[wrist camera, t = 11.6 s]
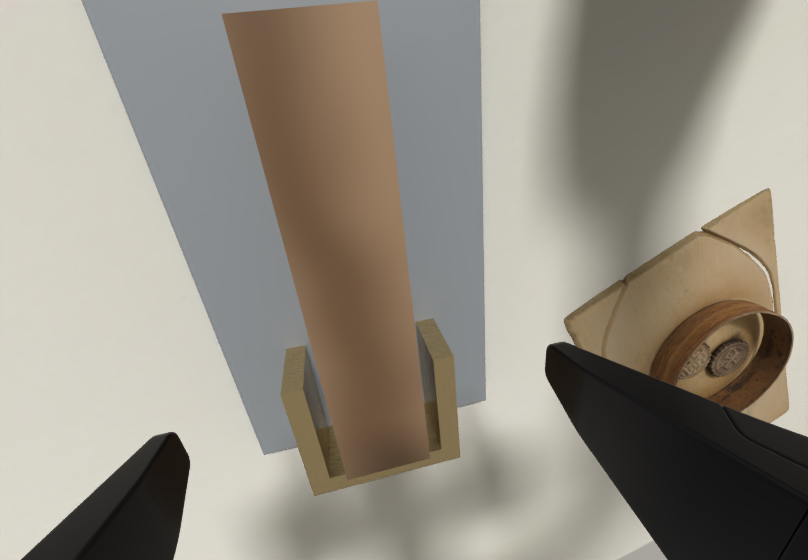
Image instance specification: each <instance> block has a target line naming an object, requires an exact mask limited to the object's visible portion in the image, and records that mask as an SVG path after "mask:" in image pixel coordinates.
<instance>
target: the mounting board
mask: <svg viewBox="0 0 808 560" xmlns="http://www.w3.org/2000/svg"><path fill="white" fill-rule="evenodd" d="M81 1H82V3H83V6H84V8H85V10H86V13H87V15H88V18H89V20H90V23H91V25H92V28H93V30H94V33H95V35H96V38H97V40H98V43H99V45H100V48H101V50H102V53H103V55H104V58H105V60H106V63H107V65H108V68H109V70H110V73H111V75H112V78H113V80H114V83H115V85H116V88H117V90H118V93H119V95H120V98H121V100H122V103H123V105H124V108H125V110H126V113H127V115H128V118H129V120H130V122H131V125H132V127H133V130H134V132H135V135H136V137H137V140H138V142H139V145H140V147H141V150H142V152H143V155H144V157H145V160H146V162H147V165H148V167H149V170H150V172H151V175H152V177H153V180H154V182H155V185H156V187H157V190H158V192H159V195H160V197H161V200H162V202H163V205H164V207H165V210H166V212H167V215H168V217H169V220H170V222H171V225H172V227H173V230H174V232H175V234H176V237H177V239H178V242H179V244H180V247H181V249H182V252H183V254H184V257H185V259H186V262H187V264H188V267H189V269H190V272H191V274H192V277H193V279H194V282H195V284H196V287H197V289H198V292H199V294H200V297H201V299H202V302H203V304H204V307H205V309H206V312H207V314H208V317H209V319H210V322H211V324H212V327H213V329H214V332H215V334H216V337H217V339H218V341H219V344H220V346H221V349H222V351H223V354H224V356H225V359H226V361H227V364H228V366H229V369H230V371H231V374H232V376H233V379H234V381H235V384H236V386H237V389H238V391H239V394H240V396H241V399H242V401H243V404H244V406H245V409H246V411H247V414H248V416H249V419H250V421H251V424H252V426H253V429H254V431H255V434H256V436H257V439H258V441H259V444H260V446H261V449H262V451H263V453H264V455H265V454H269V453H273V452H277V451H282V450H286V449H290V448H294V447H298V446H297V443H296V440H295V437H294V434H293V431H292V428H291V425H290V422H289V419H288V416H287V413H286V410H285V408H284V405H283V402H282V399H281V396H280V393H281V385H282V378H283V370H284V362H285V354H286V349H288V348H293V347H298V346H303V345H306V349H307V352H308V356H309V360H310V363H311V367H312V370H313V374H314V378H315V381H316V385H317V389H318V392H319V396H320V399H321V403H322V407H323V410H324V414H325V417H326V421H327V425H328V426H332V422H331V418H330V414H329V410H328V407H327V403H326V399H325V396H324V392H323V388H322V384H321V381H320V377H319V373H318V370H317V366H316V362H315V359H314V355H313V351H312V347H311V344H310V340H309V336H308V333H307V329H306V325H305V322H304V318H303V314H302V310H301V307H300V303H299V299H298V296H297V292H296V288H295V285H294V281H293V277H292V273H291V270H290V266H289V262H288V259H287V255H286V251H285V248H284V244H283V240H282V236H281V233H280V229H279V225H278V222H277V218H276V214H275V210H274V207H273V203H272V199H271V196H270V192H269V188H268V185H267V181H266V177H265V173H264V170H263V166H262V162H261V159H260V155H259V151H258V148H257V144H256V140H255V136H254V133H253V129H252V125H251V122H250V118H249V114H248V111H247V107H246V103H245V99H244V96H243V92H242V88H241V85H240V81H239V77H238V73H237V70H236V66H235V62H234V59H233V55H232V51H231V48H230V44H229V40H228V36H227V33H226V29H225V25H224V22H223V18H222V14H225V13H236V12H248V11H260V10H271V9H283V8H295V7H307V6H318V5H330V4H342V3H354V2H365V1H377V0H81ZM378 9H379V18H380V26H381V35H382V44H383V52H384V61H385V70H386V79H387V87H388V96H389V105H390V113H391V122H392V131H393V140H394V148H395V157H396V166H397V174H398V183H399V192H400V201H401V209H402V218H403V227H404V235H405V244H406V253H407V262H408V270H409V279H410V288H411V296H412V305H413V314H414V323H415V331H416V340H417V349H418V357H419V366H420V375H421V384H422V392H423V401H424V403H425V400H424V391H423V383H422V374H421V365H420V356H419V347H418V338H417V329H416V322H417V321H422V320H427V319H431V318H433V319H434V320H435V322H436V324H437V326H438V328H439V330H440V331H441V333H442V335H443V337H444V339H445V341H446V342H447V344H448V346H449V348H450V350H451V352H452V353H453V355H454V367H455V383H456V400H457V407H460V406H464V405H468V404H472V403H476V402H480V401H484V400H486V386H485V318H484V249H483V180H482V112H481V43H480V0H378Z"/></svg>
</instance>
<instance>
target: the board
mask: <svg viewBox="0 0 808 560" xmlns="http://www.w3.org/2000/svg"><path fill="white" fill-rule="evenodd" d="M701 229H702V230H703V231H704V232H703V231H701V232H697V231H695V232H693V233H691V234H690V235H688V236H686V237H685V238H684V239H682V240H680V241H679V242H677V243H676V244H674V245H673V246H671V247H670V248H668V249H666V250H665V251H663V252H662V253H660V254H659V255H657V256H656V257H654V258H653V259H651V260H650V261H648V262H647V263H645V264H644V265H642V266H641V267H639V268H638V269H636V270H635V271H633V272H632V273H630V274H629V275H627V276H626V277H625V278H624V280H623V281H621V280H619V281H618V282H616V283H615V284H613V285H612V286H610V287H609V288H607V289H606V290H604V291H603V292H601V293H600V294H598V295H597V296H595V297H594V298H592V299H591V300H589V301H588V302H587V303H585V304H584V305H582V306H581V307H579V308H578V309H576V310H575V311H574V312H572V313H571V314H570V315H568V316H567V317H566V318H565V319H564V323H565V326H566V329H567V331H568V333H569V334H570V336H571V337H572V339H573V342H574V344H575V346H576V347H579V348H581V349H584V350H586V351H589V352H591V353H594V354H596V355H599V356H601V357H604V358H606V359H609V360H611V361H614V362H616V363H619V364H621V365H624V366H626V367H629V368H631V369H634V370H636V371H639V372H641V373H644V374H646V375H649V376H651V377H654V378H656V379H659V380H662V381H664V382H667V383H669V384H672V385H674V386H677V387H679V388H682V389H684V390H687V391H689V392H692V393H694V394H697V395H699V396H702V397H704V398H707V399H709V400H712V401H714V402H717V403H719V404H721V405H722V406H727V407H729V408H732V409H734V410H737V411H739V412H742V413H744V414H747V415H750V416H752V417H755V418H757V419H760V420H763V421H765V422H768V423H771V422H772V421H774V420H775V419H777V418H778V417H780V416H781V415H783V414H784V413H785V412H787V411H788V409H789V399H788V388H787V379H786V368H785V367H786V365H787V363H788V360H789V358H790V355H791V352H792V347H793V330H792V327H791V325H790V323H789V322H788V321H787V319H785V318H784V317H783V316H781V306H780V293H779V283H778V271H777V259H776V247H775V240H774V224H773V210H772V199H771V191H770V189H769V188H768V189H765V190H763V191H761V192H759V193H757V194H756V195H754V196H752V197H751V198H749V199H747V200H745V201H744V202H742V203H740V204H738V205H737V206H735V207H733V208H732V209H730V210H728V211H727V212H725V213H723V214H722V215H720V216H719V217H717V218H715V219H714V220H712V221H710V222H709V223H707V224H705V225H704V226H702V227H701ZM739 247H741V248H742V249H743V250H746V251H748V252H750V254H751V255H752V256H754V257H755V258H756V259H757V260H759V261H760V263H761V264H762V265H764V266H765V268H766V270H767V271H768V273H769V276H770V280H771V284H772V288H773V299H774V311H775V312H773V300H772V296H771V292H770V287H769V283H768V280H767V277H766V275H765V273H764V271H763V270H762V269H761V268H760V266H759V265H758V264H757V263H756V262H755V261H754V260H752V259H751V257H750V256H749V255H748V254H746V253H744V252H743V251H742V250H741V249H740V248H739Z"/></svg>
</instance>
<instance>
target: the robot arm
mask: <svg viewBox="0 0 808 560" xmlns="http://www.w3.org/2000/svg"><path fill="white" fill-rule="evenodd" d="M545 373H546V377H547V379H548V381H549V383H550V385H551V386H552V388H553V390H554V392H555V394H556V395H557V397H558V399H559V401H560V402H561V404H562V406H563V408H564V410H565V411H566V413H567V415H568V417H569V418H570V420H571V422H572V424H573V425H574V427H575V429H576V430H577V432H578V433H579V435H580V436H581V438H582V439H583V441H584V442H585V444H586V445H587V446H588V448H589V449H590V451H591V452H592V453H593V455H594V456H595V458H596V459H597V461H598V462H599V463H600V465H601V466H602V468H603V469H604V470H605V472H606V473H607V475H608V476H609V477H610V479H611V480H612V482H613V483H614V485H615V486H616V487H617V489H618V490H619V492H620V493H621V494H622V496H623V497H624V499H625V500H626V502H627V503H628V504H629V506H630V507H631V509H632V510H633V511H634V513H635V514H636V516H637V517H638V518H639V520H640V521H641V523H642V524H643V526H644V527H645V528H646V530H647V531H648V533H649V534H650V535H651V537H652V538H653V540H654V541H655V543H656V544H657V545H658V547H659V548H660V549H661V551H662V552H663V554H664V555H665V557H666V558H667V559H668V560H808V437H807V436H804V435H801V434H798V433H795V432H792V431H790V430H787V429H784V428H781V427H778V426H776V425H773V424H770V423H768V422H765V421H763V420H760V419H757V418H755V417H752V416H750V415H747V414H744V413H742V412H739V411H737V410H734V409H732V408H729V407H727V406H722V405H721V404H719V403H717V402H714V401H712V400H709V399H707V398H704V397H702V396H699V395H697V394H694V393H692V392H689V391H687V390H684V389H682V388H679V387H677V386H674V385H672V384H669V383H667V382H664V381H662V380H659V379H656V378H654V377H651V376H649V375H646V374H644V373H641V372H639V371H636V370H634V369H631V368H629V367H626V366H624V365H621V364H619V363H616V362H614V361H611V360H609V359H606V358H604V357H601V356H599V355H596V354H594V353H591V352H589V351H586V350H584V349H581V348H579V347H576V346H574V345H571V344H569V343H566V342H558V343H554V344H550V345H549V346H548V347H547V350H546V363H545ZM189 470H190V459H189V456H188V454H187V452H186V450H185V448H184V446H183V444H182V442H181V441H180V439H179V437H178V435H177V434H176V433H174V432H168V433H164V434H160V435H156V436H154V437H152V438H151V439H150V440H148V441H147V442H146V443H145V444H144V445H143V446H142V447H141V448H140V449H139V450H138V451H137V452H136V453H135V454H133V455H132V456H131V457H130V458H129V459H128V460H127V461H126V462H125V463H124V464H123V465H122V466H121V467H120V468H119V469H117V470H116V471H115V472H114V473H113V474H112V475H111V476H110V477H109V478H108V479H107V480H106V481H105V482H104V483H102V484H101V485H100V486H99V487H98V488H97V489H96V490H95V491H94V492H93V493H92V494H91V495H90V496H89V497H87V498H86V499H85V500H84V501H83V502H82V503H81V504H80V505H79V506H78V507H77V508H76V509H75V510H74V511H72V512H71V513H70V514H69V515H68V516H67V517H66V518H65V519H64V520H63V521H62V522H61V523H60V524H59V525H57V526H56V527H55V528H54V529H53V530H52V531H51V532H50V533H49V534H48V535H47V536H46V537H45V538H44V539H42V540H41V541H40V542H39V543H38V544H37V545H36V546H35V547H34V548H33V549H32V550H31V551H30V552H29V553H27V554H26V555H25V556H24V557H23V558H22V559H21V560H173V559H174V555H175V551H176V547H177V543H178V538H179V533H180V528H181V521H182V515H183V508H184V502H185V495H186V489H187V483H188V476H189Z"/></svg>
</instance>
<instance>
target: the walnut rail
mask: <svg viewBox="0 0 808 560" xmlns="http://www.w3.org/2000/svg"><path fill="white" fill-rule="evenodd" d="M222 18H223V22H224V25H225V29H226V33H227V36H228V40H229V44H230V48H231V51H232V55H233V59H234V62H235V66H236V70H237V73H238V77H239V81H240V85H241V88H242V92H243V96H244V99H245V103H246V107H247V111H248V114H249V118H250V122H251V125H252V129H253V133H254V136H255V140H256V144H257V148H258V151H259V155H260V159H261V162H262V166H263V170H264V173H265V177H266V181H267V185H268V188H269V192H270V196H271V199H272V203H273V207H274V210H275V214H276V218H277V222H278V225H279V229H280V233H281V236H282V240H283V244H284V248H285V251H286V255H287V259H288V262H289V266H290V270H291V273H292V277H293V281H294V285H295V288H296V292H297V296H298V299H299V303H300V307H301V310H302V314H303V318H304V322H305V325H306V329H307V333H308V336H309V340H310V344H311V347H312V351H313V355H314V359H315V362H316V366H317V370H318V373H319V377H320V381H321V384H322V388H323V392H324V396H325V399H326V403H327V407H328V410H329V414H330V418H331V422H332V425H333V429H334V433H335V436H336V440H337V444H338V447H339V451H340V455H341V459H342V462H343V466H344V470H345V473H346V477H347V480H350V479H354V478H358V477H362V476H365V475H369V474H373V473H377V472H381V471H384V470H388V469H392V468H396V467H399V466H403V465H407V464H411V463H415V462H418V461H422V460H426V459H430V453H429V445H428V436H427V427H426V418H425V410H424V401H423V392H422V384H421V375H420V366H419V357H418V349H417V340H416V331H415V323H414V314H413V305H412V296H411V288H410V279H409V270H408V262H407V253H406V244H405V235H404V227H403V218H402V209H401V201H400V192H399V183H398V174H397V166H396V157H395V148H394V140H393V131H392V122H391V113H390V105H389V96H388V87H387V79H386V70H385V61H384V52H383V44H382V35H381V26H380V18H379V9H378V0H377V1H365V2H354V3H342V4H330V5H318V6H307V7H295V8H283V9H271V10H260V11H248V12H236V13H225V14H222Z"/></svg>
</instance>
